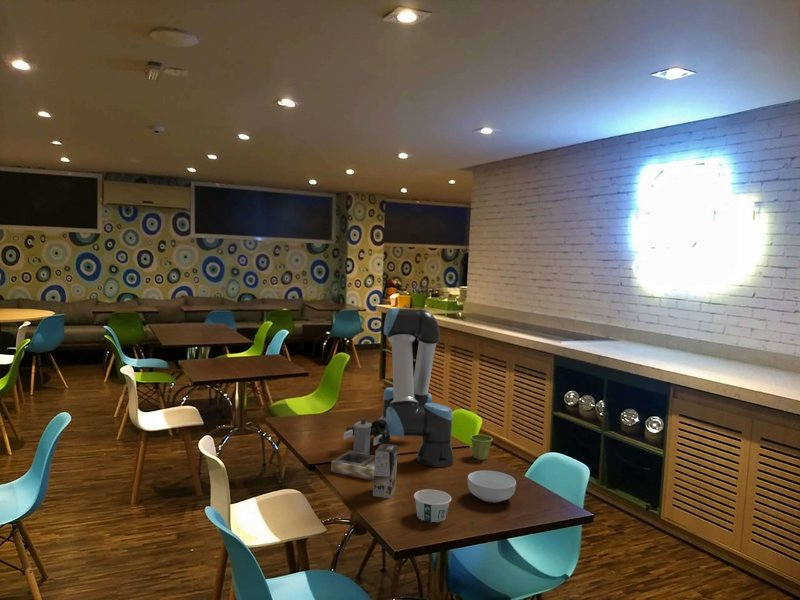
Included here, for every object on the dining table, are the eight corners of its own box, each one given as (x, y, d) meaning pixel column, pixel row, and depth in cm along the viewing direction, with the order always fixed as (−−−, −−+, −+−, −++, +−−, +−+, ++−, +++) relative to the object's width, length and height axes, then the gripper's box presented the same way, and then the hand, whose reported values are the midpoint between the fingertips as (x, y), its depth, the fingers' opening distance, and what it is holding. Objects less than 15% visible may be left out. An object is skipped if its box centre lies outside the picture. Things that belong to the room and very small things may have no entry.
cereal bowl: (458, 491, 213) (459, 472, 213) (498, 487, 219) (499, 468, 219) (481, 510, 197) (483, 489, 197) (524, 505, 203) (525, 485, 203)
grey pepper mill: (369, 456, 246) (372, 418, 245) (364, 460, 241) (366, 421, 240) (358, 454, 248) (360, 416, 247) (352, 457, 243) (354, 419, 242)
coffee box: (390, 498, 202) (393, 452, 201) (372, 496, 204) (374, 450, 203) (396, 489, 211) (398, 444, 210) (378, 487, 213) (381, 442, 212)
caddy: (390, 468, 232) (391, 458, 232) (374, 480, 218) (374, 470, 218) (349, 460, 239) (349, 450, 239) (331, 471, 225) (331, 461, 225)
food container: (420, 505, 198) (421, 486, 198) (454, 513, 193) (456, 494, 193) (406, 519, 187) (408, 498, 187) (443, 527, 182) (444, 506, 182)
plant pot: (492, 462, 248) (494, 441, 247) (470, 460, 248) (471, 440, 248) (489, 455, 257) (491, 435, 257) (468, 453, 257) (469, 433, 257)
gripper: (406, 440, 257) (386, 453, 237) (355, 431, 266) (331, 443, 247) (407, 423, 256) (387, 435, 237) (356, 414, 266) (332, 425, 246)
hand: (359, 439), depth 242 cm, fingers open, 13 cm apart
